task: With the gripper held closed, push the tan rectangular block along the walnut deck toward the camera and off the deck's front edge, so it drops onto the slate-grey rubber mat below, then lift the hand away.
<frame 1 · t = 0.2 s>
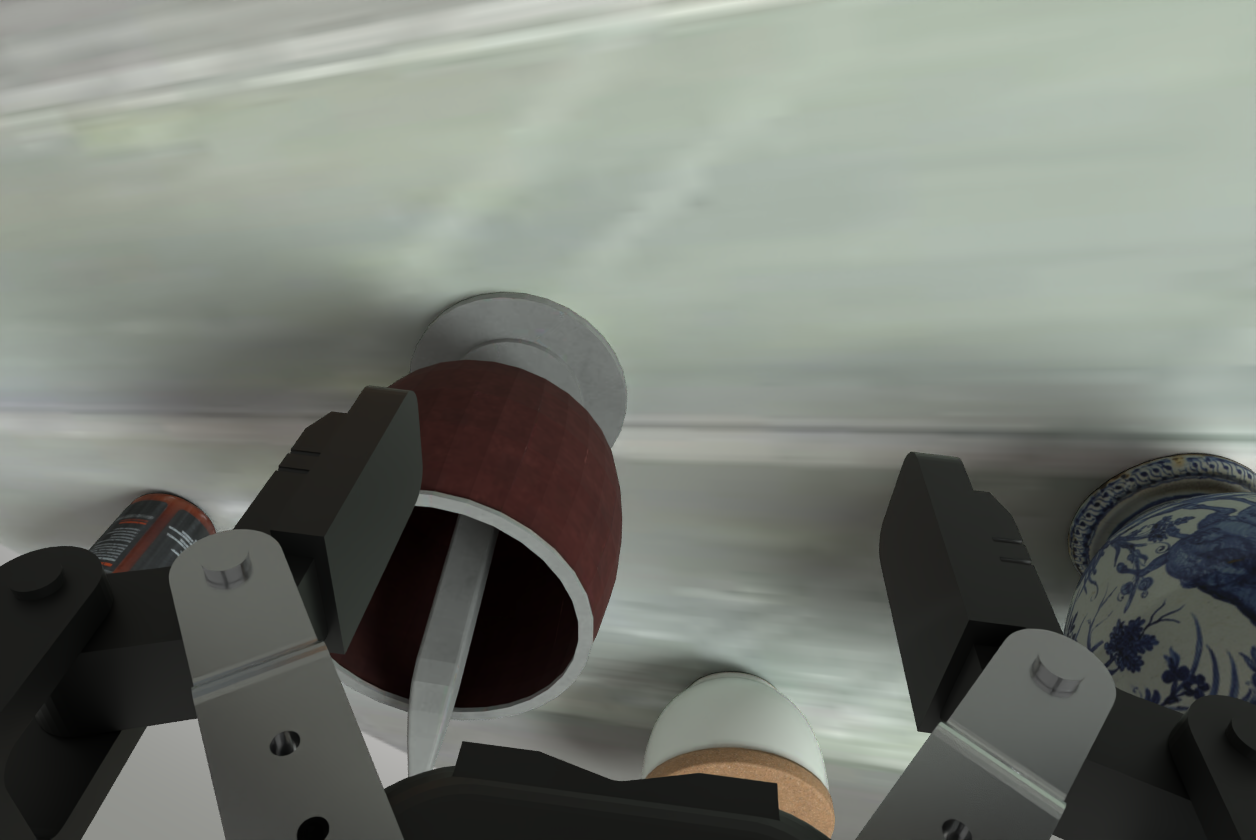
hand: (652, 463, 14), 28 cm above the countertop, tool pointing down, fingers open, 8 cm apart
mate gourd: (519, 401, 48), on the countertop
decorative vase: (1165, 523, 48), on the countertop
supplement bottle: (178, 521, 56), on the countertop
lidded bowl: (732, 701, 61), on the countertop
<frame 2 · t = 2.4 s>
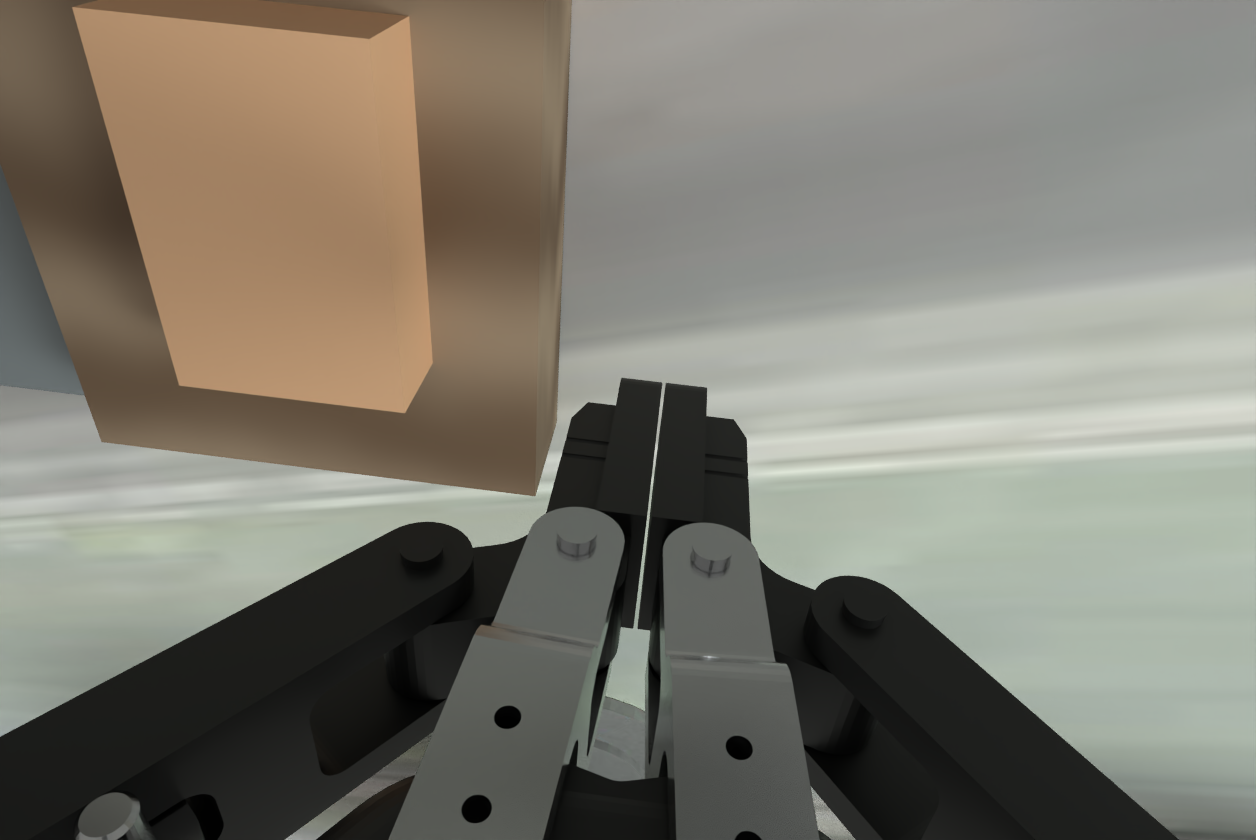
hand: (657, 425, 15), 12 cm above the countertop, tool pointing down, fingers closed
mate gourd: (573, 772, 42), on the countertop
tan rectangular block: (284, 216, 20), point 5 cm above the countertop, touching walnut deck
walnut deck: (328, 145, 24), on the countertop
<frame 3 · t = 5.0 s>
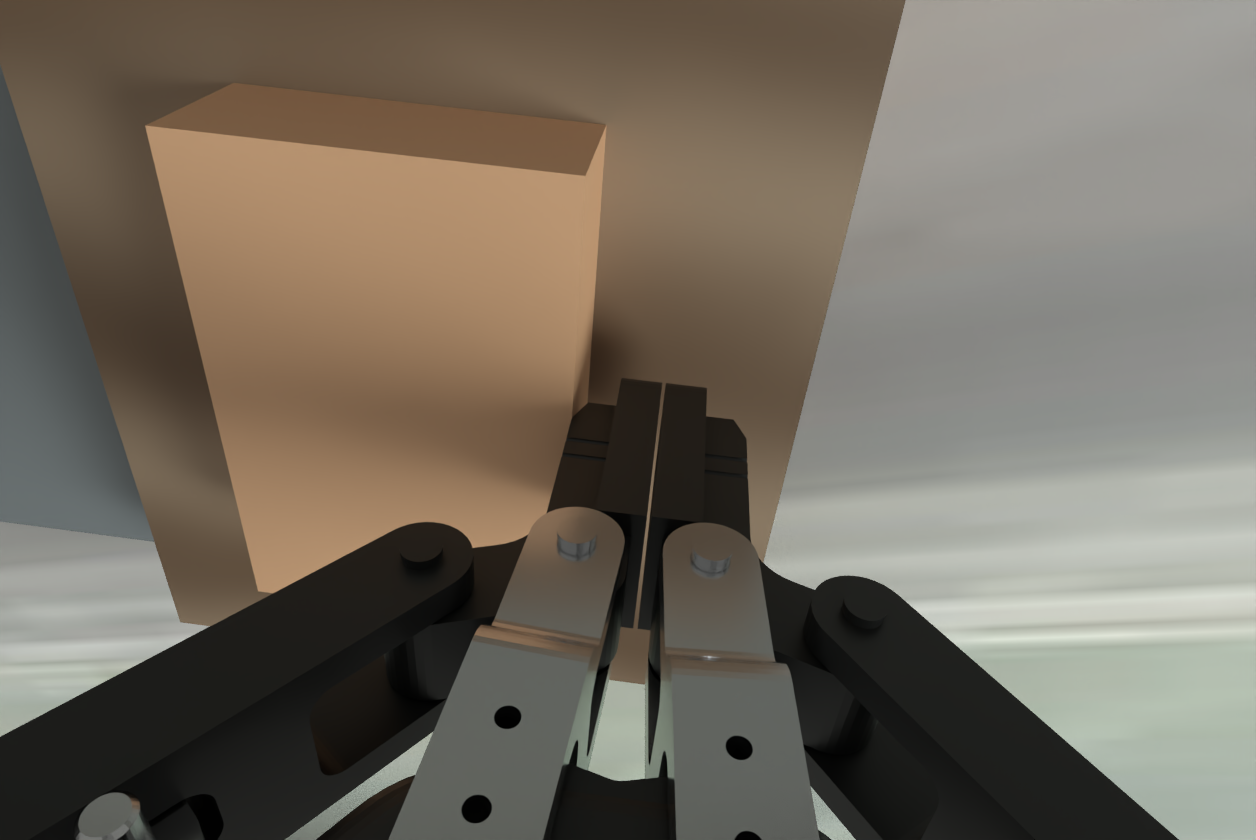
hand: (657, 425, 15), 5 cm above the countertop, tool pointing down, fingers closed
tan rectangular block: (413, 383, 15), point 5 cm above the countertop, touching gripper
walnut deck: (486, 263, 19), on the countertop
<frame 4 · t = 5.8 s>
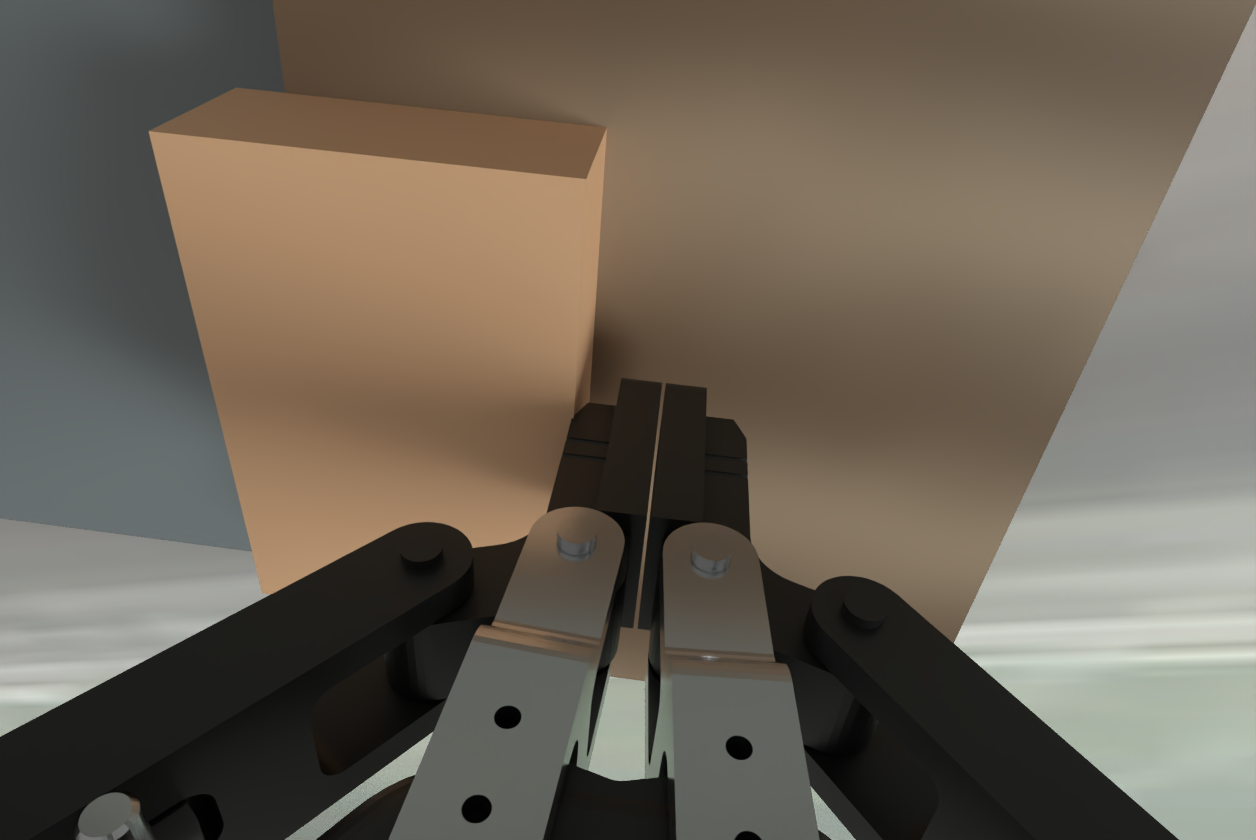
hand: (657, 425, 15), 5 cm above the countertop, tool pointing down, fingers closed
tan rectangular block: (415, 386, 15), point 5 cm above the countertop, touching gripper
walnut deck: (690, 284, 19), on the countertop
slate mat: (27, 203, 19), on the countertop
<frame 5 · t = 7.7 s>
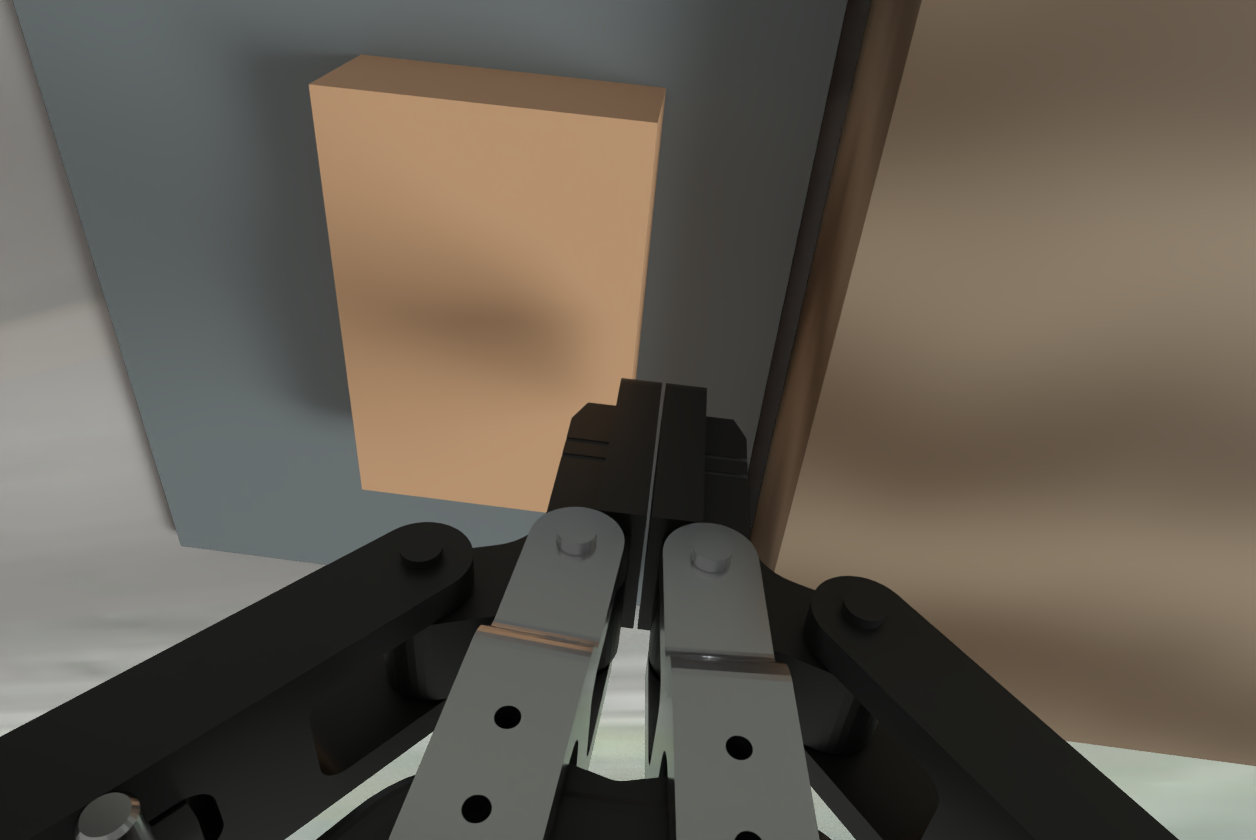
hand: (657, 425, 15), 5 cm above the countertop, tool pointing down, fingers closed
tan rectangular block: (499, 307, 18), point 2 cm above the countertop, tilted 180°, touching slate mat
walnut deck: (1114, 338, 19), on the countertop
slate mat: (434, 258, 19), on the countertop
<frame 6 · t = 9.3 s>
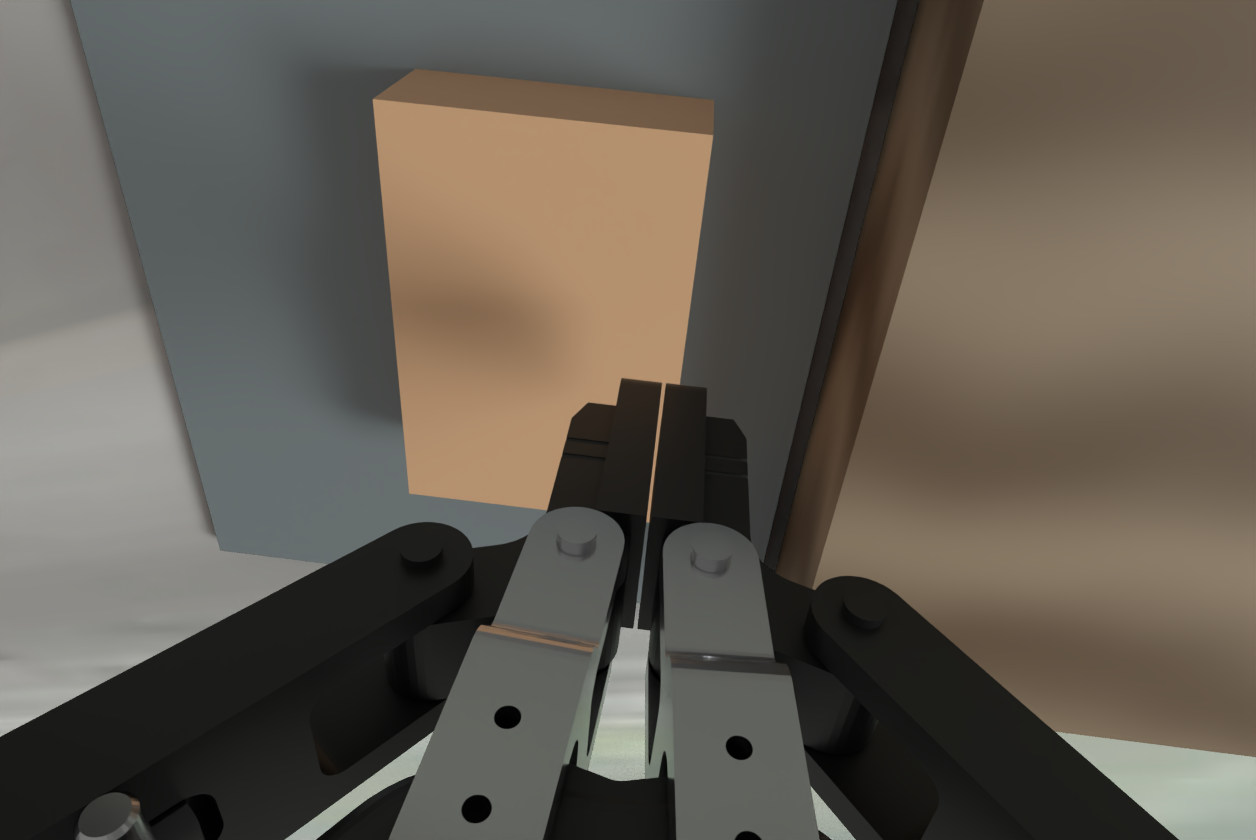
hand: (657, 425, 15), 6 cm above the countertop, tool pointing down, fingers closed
tan rectangular block: (548, 314, 18), point 2 cm above the countertop, tilted 180°, touching slate mat
walnut deck: (1147, 341, 19), on the countertop
slate mat: (479, 266, 19), on the countertop
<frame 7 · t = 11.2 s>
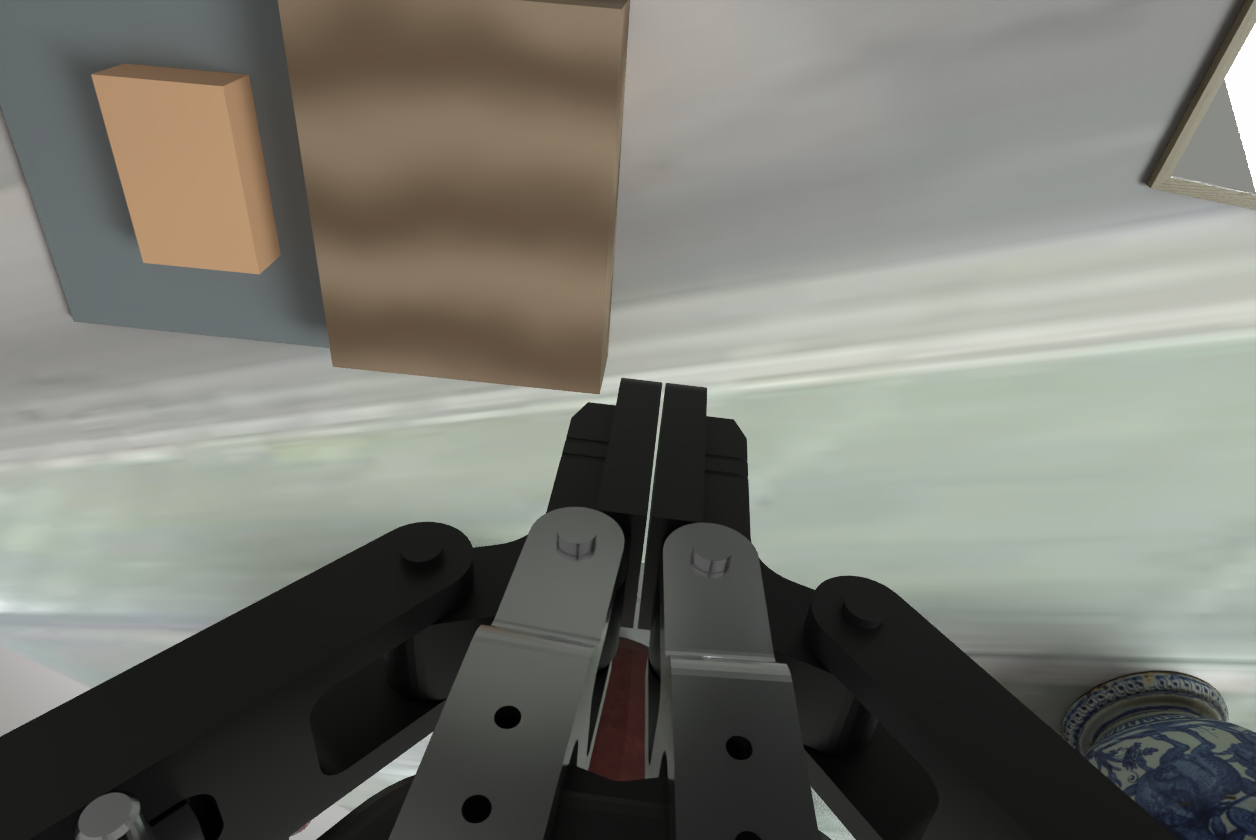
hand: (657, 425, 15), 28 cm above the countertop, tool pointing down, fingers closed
mate gourd: (612, 628, 59), on the countertop
tan rectangular block: (194, 172, 40), point 2 cm above the countertop, tilted 180°, touching slate mat
walnut deck: (477, 184, 41), on the countertop
decorative vase: (1141, 717, 59), on the countertop
slate mat: (174, 155, 42), on the countertop
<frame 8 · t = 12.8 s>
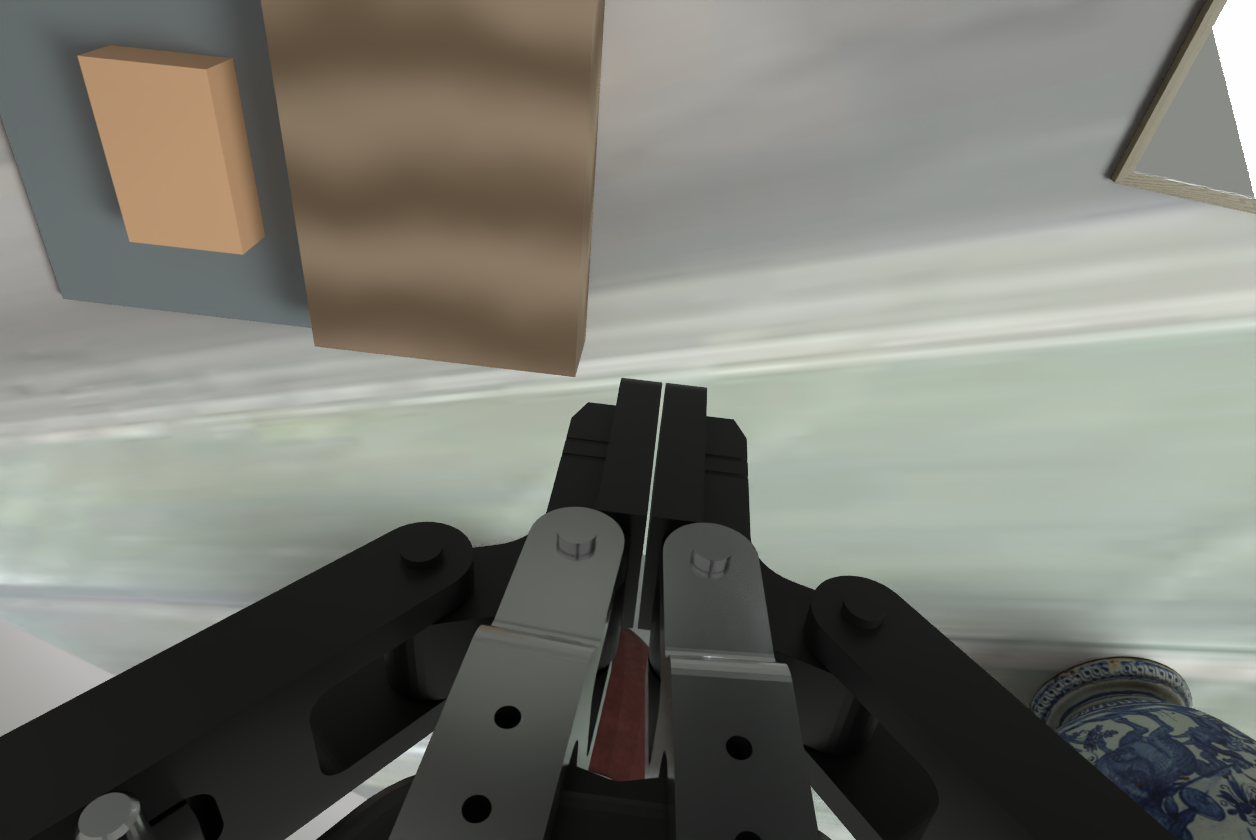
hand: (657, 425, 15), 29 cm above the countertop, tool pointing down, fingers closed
mate gourd: (591, 607, 60), on the countertop
tan rectangular block: (179, 153, 41), point 2 cm above the countertop, tilted 180°, touching slate mat
walnut deck: (457, 169, 42), on the countertop
decorative vase: (1107, 702, 60), on the countertop
slate mat: (160, 136, 43), on the countertop
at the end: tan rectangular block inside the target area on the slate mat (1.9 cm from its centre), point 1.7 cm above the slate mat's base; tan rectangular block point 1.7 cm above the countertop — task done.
